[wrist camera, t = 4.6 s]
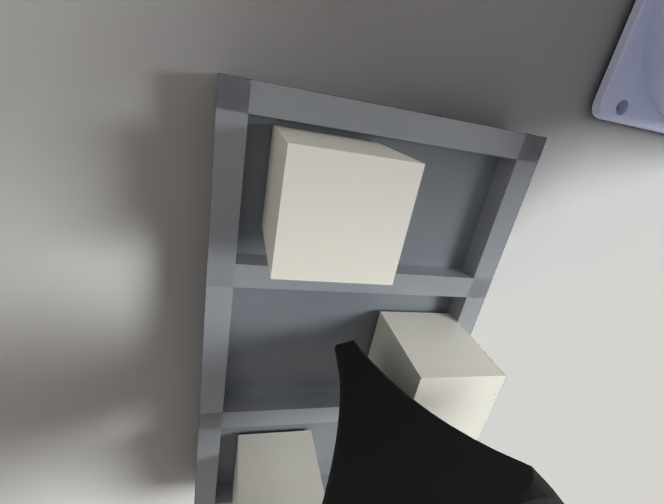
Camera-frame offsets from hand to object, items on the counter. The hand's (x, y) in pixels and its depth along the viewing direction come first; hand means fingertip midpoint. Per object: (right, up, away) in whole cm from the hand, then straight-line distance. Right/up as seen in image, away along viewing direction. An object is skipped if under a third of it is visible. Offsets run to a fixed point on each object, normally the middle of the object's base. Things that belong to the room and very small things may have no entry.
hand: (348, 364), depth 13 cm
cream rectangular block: (+2, 0, +2) cm, 3 cm away
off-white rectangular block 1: (-3, -5, +3) cm, 6 cm away
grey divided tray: (-1, +1, +2) cm, 3 cm away
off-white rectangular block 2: (-1, +6, -2) cm, 6 cm away
